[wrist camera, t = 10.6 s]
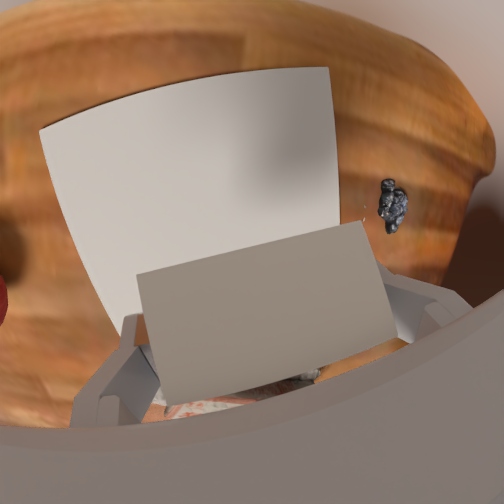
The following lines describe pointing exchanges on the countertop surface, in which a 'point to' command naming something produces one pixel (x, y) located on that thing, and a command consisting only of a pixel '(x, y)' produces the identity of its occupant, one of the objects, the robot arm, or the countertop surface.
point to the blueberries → (392, 205)
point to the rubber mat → (194, 173)
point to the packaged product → (237, 396)
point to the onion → (3, 300)
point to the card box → (264, 312)
